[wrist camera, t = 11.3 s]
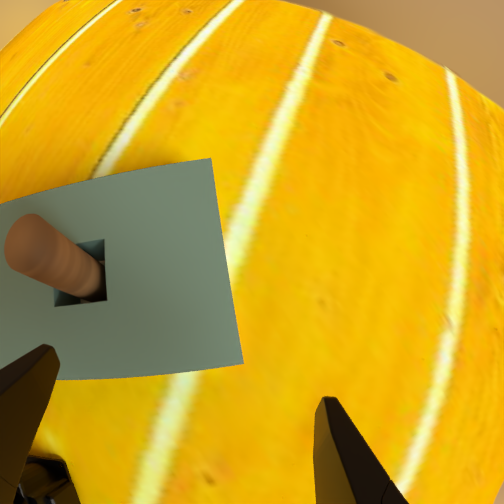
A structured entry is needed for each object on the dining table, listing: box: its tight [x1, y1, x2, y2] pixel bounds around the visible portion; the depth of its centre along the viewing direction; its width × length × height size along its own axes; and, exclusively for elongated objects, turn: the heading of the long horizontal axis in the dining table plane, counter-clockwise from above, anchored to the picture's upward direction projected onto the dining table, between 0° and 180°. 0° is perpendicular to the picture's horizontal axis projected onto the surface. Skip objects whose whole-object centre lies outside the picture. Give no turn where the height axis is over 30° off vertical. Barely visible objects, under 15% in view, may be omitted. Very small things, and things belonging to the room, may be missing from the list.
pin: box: [4, 214, 107, 303], centre depth 17 cm, size 3×3×11 cm
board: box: [0, 158, 244, 380], centre depth 21 cm, size 20×14×5 cm
